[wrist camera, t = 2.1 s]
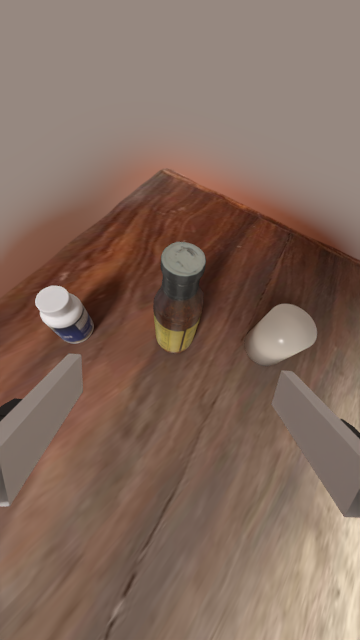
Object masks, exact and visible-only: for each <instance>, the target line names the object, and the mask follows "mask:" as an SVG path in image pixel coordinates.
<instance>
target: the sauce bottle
mask: <svg viewBox="0 0 360 640" xmlns="http://www.w3.org/2000/svg"><path fill="white" fill-rule="evenodd" d="M205 264H206V258H205V255H204V253H203V252H202V250H201V249H200V248H199V247H197V246H195V245H193V244H190V243H186V242H176V243H173V244H171V245H169V246H168V247H167V248H165V250H164V251H163V253H162V256H161V270H162V273H163V280H162V286H161V288H160V289H159V291H158V292H157V294H156V296H155V298H154V306H153V307H154V322H155V330H156V338H157V341H158V343H159V345H160V346H161V347H162V348H163V349H164V350H165V351H166V352H170V353H181V352H183V351H185V350H186V349H187V348H188V347H189V345H190V344H191V343H192V340H193V337H194V335H195V332H196V329H197V326H198V323H199V320H200V317H201V312H202V308H203V296H204V293H203V292H202V290H201V288H200V287H199V280H200V278H201V277H202V275H203V273H204V270H205Z"/></svg>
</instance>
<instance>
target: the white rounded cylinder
mask: <svg viewBox="0 0 360 640" xmlns="http://www.w3.org/2000/svg"><path fill="white" fill-rule="evenodd" d="M316 337H317V329H316V325H315V323H314V321H313V319H312V318H311V317H310V316H309V314H308V313H306V312H305V311H304V310H303V309H301V308H299V307H297V306H295V305H291V304H280V305H277V306H275V307H274V308H273V309H272V310H271V311H270V312H269V313H268V314H267V315H266V316H265V317H264V318H263V319H262V320H261V321H260V322H259V323H258V324H257V325H256V326H255V327H254V328H253V329H252V330H251V331H250V332H249V333H248V334H247V335H246V337H245V339H244V348H245V351H246V353H247V355H248V356H249V357H250V359H251V360H253V361H254V362H255V363H257V364H259V365H262V366H272V365H275V364H277V363H279V362H281V361H283V360H285V359H287V358H289V357H291V356H293V355H295V354H296V353H298V352H300V351H302V350H304V349H306V348H308V347H310V346H311V345H313V344H314V342H315V340H316Z"/></svg>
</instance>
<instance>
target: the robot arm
mask: <svg viewBox="0 0 360 640" xmlns="http://www.w3.org/2000/svg"><path fill="white" fill-rule="evenodd" d="M82 392H83V384H82V360H81V355H80V354H68V355H67V356H66V357H65V358H64V359H63V360H62V361H61V362H60V363H59V364H58V365H57V366H56V367H55V368H54V369H53V370H52V371H51V372H50V373H49V374H48V375H47V376H46V377H45V378H44V379H43V380H42V381H41V382H40V383H39V384H38V385H37V386H36V387H35V388H34V389H33V390H32V391H31V392H30V393H29V394H28V395H27V396H26V397H25V398H24V399H15V398H14V399H13V400H11V401H9V402H7V403H6V404H4V405H2V406H1V407H0V506H10V505H11V503H12V502H13V500H14V499H15V497H16V495H17V494H18V492H19V491H20V489H21V488H22V486H23V484H24V483H25V481H26V480H27V478H28V477H29V475H30V473H31V472H32V470H33V469H34V467H35V466H36V464H37V462H38V461H39V459H40V458H41V456H42V455H43V453H44V451H45V450H46V448H47V447H48V445H49V444H50V442H51V440H52V439H53V437H54V436H55V434H56V433H57V431H58V429H59V428H60V426H61V425H62V423H63V422H64V420H65V418H66V417H67V415H68V414H69V412H70V411H71V409H72V408H73V406H74V404H75V403H76V401H77V400H78V398H79V397H80V395H81V393H82ZM272 406H273V407H274V409H275V410H276V412H277V413H278V415H279V417H280V418H281V420H282V421H283V423H284V424H285V426H286V427H287V429H288V431H289V432H290V434H291V435H292V437H293V438H294V440H295V441H296V443H297V444H298V446H299V448H300V449H301V451H302V452H303V454H304V455H305V457H306V458H307V460H308V462H309V463H310V465H311V466H312V468H313V469H314V471H315V472H316V474H317V475H318V477H319V479H320V480H321V482H322V483H323V485H324V486H325V488H326V489H327V491H328V493H329V494H330V496H331V497H332V499H333V500H334V502H335V503H336V505H337V506H338V508H339V510H340V511H341V513H342V514H343V516H344V517H360V433H359V432H358V431H357V430H356V429H355V428H354V427H353V426H352V425H350V424H349V423H347V422H346V421H344V420H343V419H339V418H338V417H337V416H336V415H335V414H334V413H333V412H332V411H331V410H330V409H329V408H328V407H327V406H326V405H325V404H324V403H323V402H322V401H321V400H320V399H319V398H318V397H317V396H316V395H315V394H314V393H313V392H312V391H311V390H310V389H309V388H308V387H307V386H306V385H305V384H304V382H303V381H302V380H301V379H300V378H299V377H298V376H297V375H296V374H295V373H294V372H293V371H281V374H280V378H279V381H278V384H277V388H276V391H275V394H274V398H273V401H272Z"/></svg>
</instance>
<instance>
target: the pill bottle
mask: <svg viewBox="0 0 360 640" xmlns="http://www.w3.org/2000/svg"><path fill="white" fill-rule="evenodd" d="M35 303H36V306H37V308H38V309H39V310H40V316H41V318H42V320H43V321H44V322H45V324H46V325H48V326H49V327H50V328H51V329H52V330H53V331H54V332H55V333H56V334H57V335H59V336H60V337H61V338H62V339H63V340H65V341H66V342H69V343H80V342H83V341H85V340H86V339H88V338H89V337H90V335H91V334H92V332H93V329H94V325H93V321H92V319H91V318H90V316H89V314H88V313H87V311H86V309H85V308H84V306H83V304H82V303H81V301H80V300H79V299H78V298H77V297H76V296H75V295H73V294H70V293H68V291H67V290H66V289H65V288H63V287H60V286H50V287H47V288H44V289H43V290H41V291H40V292H39V293H38V295H37V297H36V300H35Z"/></svg>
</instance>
